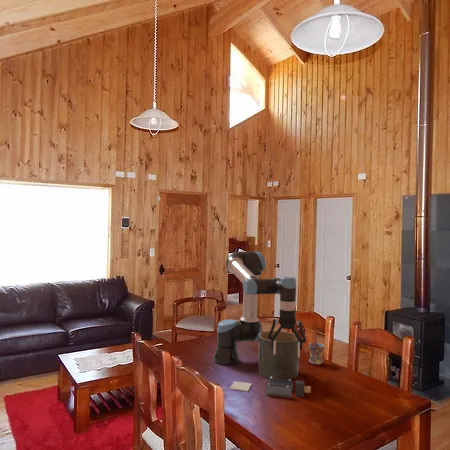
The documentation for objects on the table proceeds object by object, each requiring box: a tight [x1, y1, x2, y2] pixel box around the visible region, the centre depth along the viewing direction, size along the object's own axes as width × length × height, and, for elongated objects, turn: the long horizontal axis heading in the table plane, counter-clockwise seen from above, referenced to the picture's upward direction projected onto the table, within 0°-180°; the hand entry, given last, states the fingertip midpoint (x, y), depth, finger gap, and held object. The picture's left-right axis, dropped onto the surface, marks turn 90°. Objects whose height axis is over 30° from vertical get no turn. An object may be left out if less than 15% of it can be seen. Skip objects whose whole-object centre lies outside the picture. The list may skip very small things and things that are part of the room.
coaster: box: [229, 380, 252, 393], centre depth 195 cm, size 9×9×1 cm
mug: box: [304, 342, 325, 366], centre depth 232 cm, size 12×9×11 cm
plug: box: [294, 379, 312, 398], centre depth 187 cm, size 7×4×6 cm, turn 78°
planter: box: [258, 330, 300, 380], centre depth 215 cm, size 22×22×20 cm
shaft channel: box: [264, 377, 294, 399], centre depth 189 cm, size 12×10×5 cm
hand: (286, 355), depth 189 cm, fingers open, 11 cm apart
